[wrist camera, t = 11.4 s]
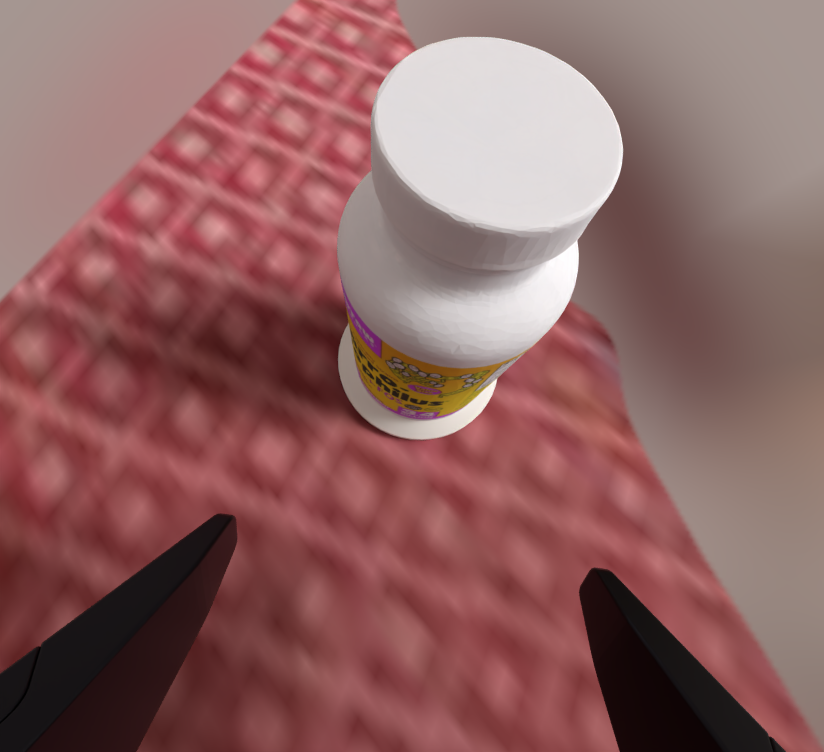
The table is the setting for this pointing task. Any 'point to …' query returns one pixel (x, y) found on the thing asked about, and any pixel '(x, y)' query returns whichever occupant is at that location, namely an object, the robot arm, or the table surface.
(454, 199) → the supplement bottle
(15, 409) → the table surface
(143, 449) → the table surface
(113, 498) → the table surface
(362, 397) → the cream round disc
